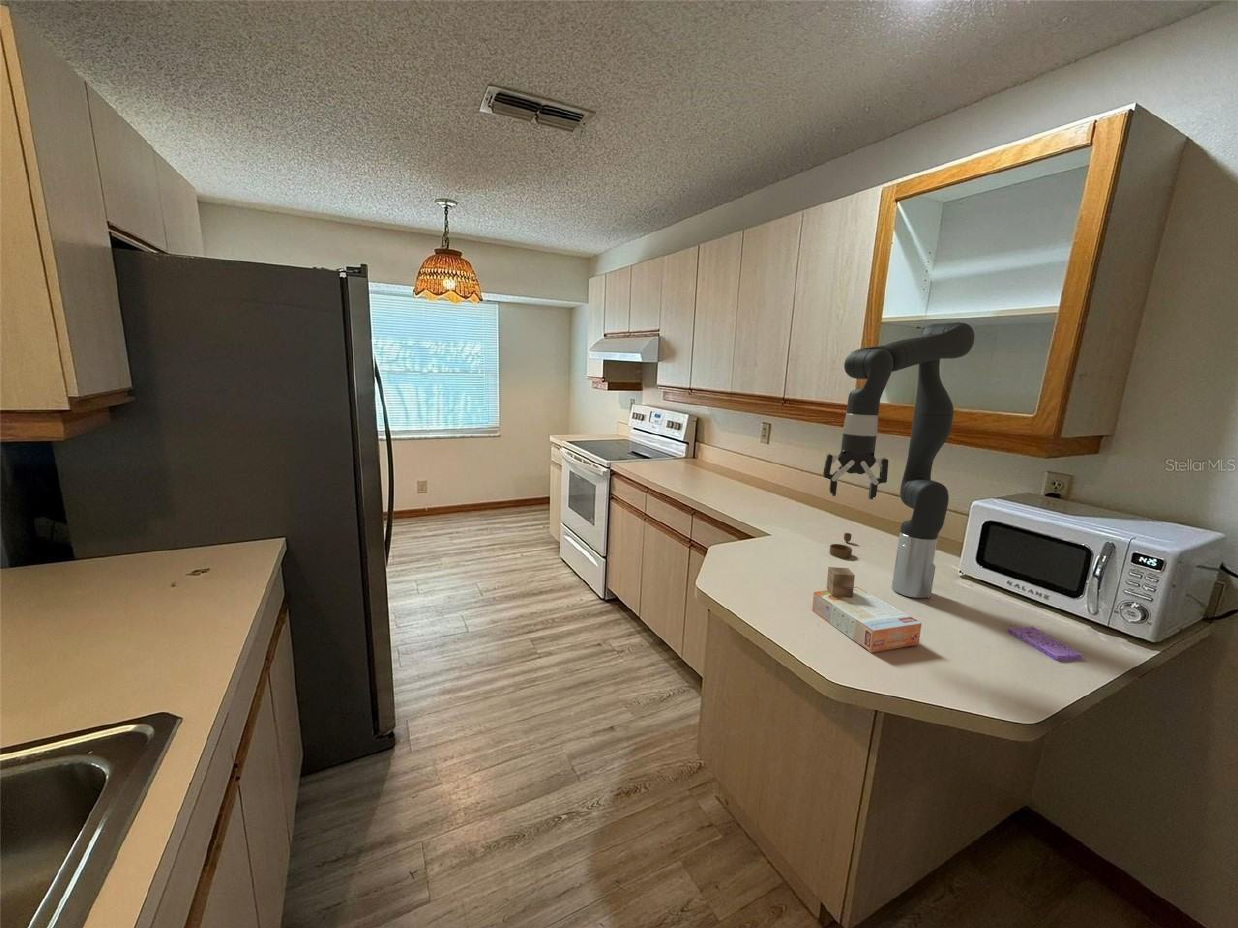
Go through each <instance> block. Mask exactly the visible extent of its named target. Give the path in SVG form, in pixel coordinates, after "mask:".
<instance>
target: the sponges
mask: <svg viewBox="0 0 1238 928" xmlns="http://www.w3.org/2000/svg"><path fill="white" fill-rule="evenodd" d="M1007 632H1008V633H1009V634H1012V635H1013V636H1015V637H1016V638H1018V639H1019V640H1021V641H1023V642H1024V643H1026V644H1028V645H1030V646H1031V647H1032V648H1034V649H1035V650H1038V651H1039V652H1040V653H1042V654H1044V655H1046V656H1047V657H1049V658H1050V659H1052V660H1055V661H1057V662H1059V661H1061V662H1062V661H1065V662H1066V661H1075V660H1079V661H1080V660H1082V659H1083V654H1082V653H1080V652H1079V651H1077V650H1075V649H1073V648H1072V647H1070V646H1069V645H1068V646H1067V645H1066V644H1064V643H1061V641H1059V640H1057V639H1056V638H1053V637H1051V636H1050V635H1048V634H1047V633H1045V632H1044V631H1042V630H1040V629H1038V628H1036V627H1035V626H1024V627H1022V626H1020V627H1019V626H1018V627H1008V631H1007Z"/></svg>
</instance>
